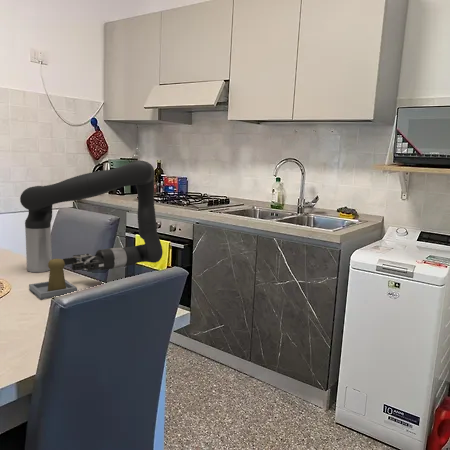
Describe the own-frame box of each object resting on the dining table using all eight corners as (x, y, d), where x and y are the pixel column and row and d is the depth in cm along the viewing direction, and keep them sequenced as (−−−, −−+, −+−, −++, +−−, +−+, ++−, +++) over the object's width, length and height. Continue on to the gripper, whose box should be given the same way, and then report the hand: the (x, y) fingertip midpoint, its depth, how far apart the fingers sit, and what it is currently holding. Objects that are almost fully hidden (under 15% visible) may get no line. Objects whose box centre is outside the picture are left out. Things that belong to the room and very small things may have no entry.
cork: (59, 294, 146) (58, 262, 144) (43, 292, 147) (42, 260, 146) (70, 289, 152) (69, 258, 150) (54, 287, 153) (54, 256, 151)
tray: (29, 290, 151) (29, 284, 151) (64, 284, 159) (64, 278, 159) (40, 299, 142) (40, 293, 142) (77, 293, 150) (77, 287, 150)
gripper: (102, 245, 167) (59, 250, 157) (120, 252, 157) (75, 258, 146) (102, 264, 169) (60, 270, 158) (120, 272, 158) (75, 280, 148)
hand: (67, 264), depth 152 cm, fingers open, 8 cm apart
